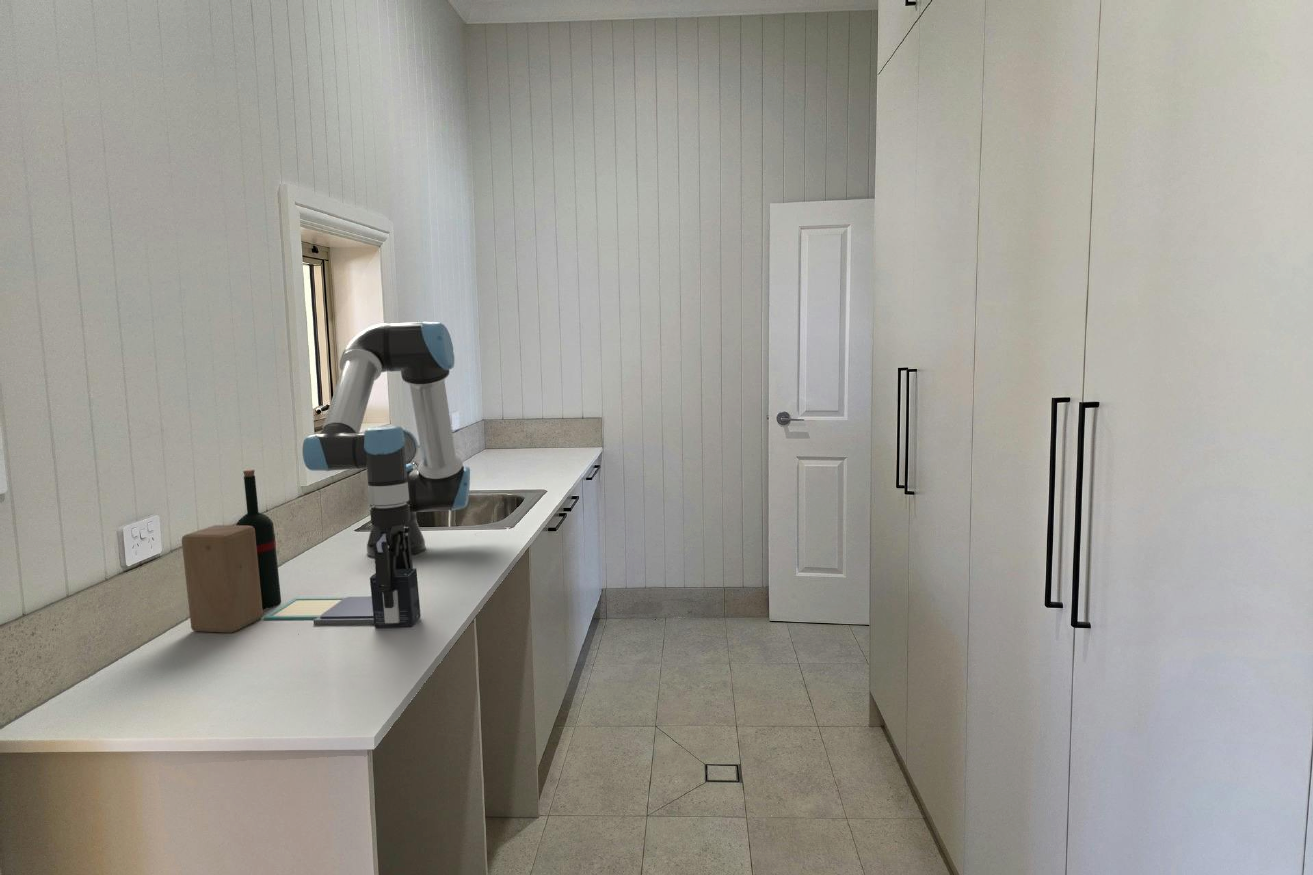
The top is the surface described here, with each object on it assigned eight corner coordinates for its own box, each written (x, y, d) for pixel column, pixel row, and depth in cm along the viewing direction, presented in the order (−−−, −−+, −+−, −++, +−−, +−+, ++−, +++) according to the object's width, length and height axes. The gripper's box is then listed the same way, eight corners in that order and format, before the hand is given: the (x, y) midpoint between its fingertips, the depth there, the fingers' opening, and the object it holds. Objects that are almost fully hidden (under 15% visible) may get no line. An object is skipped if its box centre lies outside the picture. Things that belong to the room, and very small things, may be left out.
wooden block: (233, 634, 169) (222, 536, 167) (189, 632, 171) (178, 535, 169) (265, 617, 179) (256, 524, 176) (223, 616, 181) (214, 524, 179)
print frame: (295, 600, 190) (294, 597, 190) (355, 599, 189) (355, 597, 189) (264, 619, 178) (263, 617, 178) (328, 618, 176) (328, 616, 176)
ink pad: (346, 601, 188) (345, 595, 188) (403, 600, 187) (403, 594, 187) (313, 624, 173) (313, 618, 173) (376, 624, 172) (375, 617, 172)
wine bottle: (292, 595, 194) (280, 465, 190) (271, 610, 184) (257, 473, 180) (258, 596, 194) (245, 466, 190) (235, 611, 184) (221, 474, 180)
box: (421, 617, 175) (417, 567, 174) (412, 627, 169) (408, 575, 168) (383, 618, 175) (379, 568, 174) (373, 628, 170) (369, 576, 168)
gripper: (389, 495, 179) (397, 602, 182) (350, 514, 160) (360, 633, 163) (424, 494, 178) (432, 601, 181) (389, 513, 160) (399, 633, 163)
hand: (398, 616), depth 172 cm, fingers closed on box, 6 cm apart
